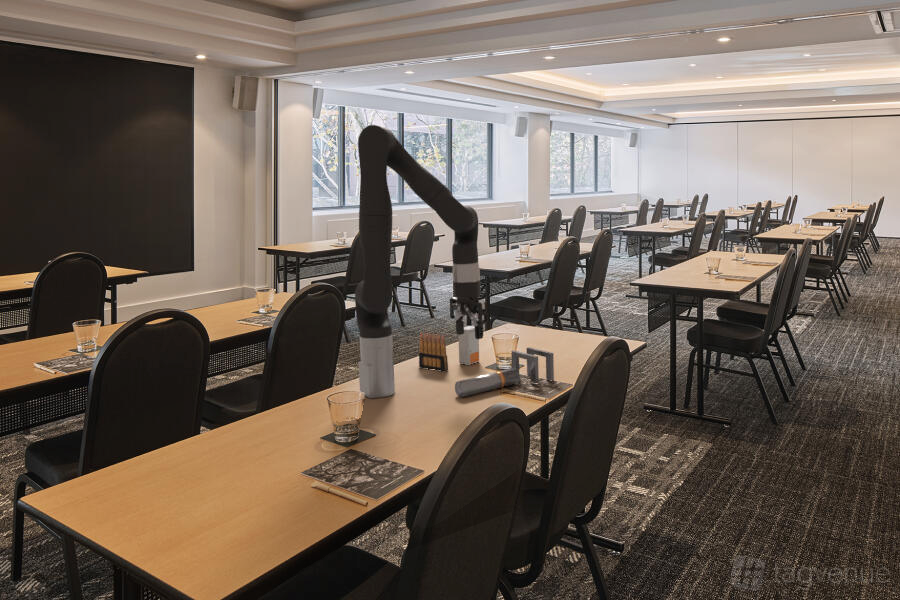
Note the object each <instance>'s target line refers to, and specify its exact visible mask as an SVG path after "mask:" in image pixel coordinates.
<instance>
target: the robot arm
mask: <svg viewBox="0 0 900 600" xmlns="http://www.w3.org/2000/svg"><path fill="white" fill-rule="evenodd" d="M357 139H358V140H357V150H358V159H359V161H358V162H359V175H360V182H359V184H360V185H359V206H358V207H359V209H358V211H359V212H358V233H359V234H358V235H359V241H360V246H361V247H360V248H361V250H362V251H361V252H362V256H363V263H364V264H363V265H364V267H363V268H364V273H363V280H362V281H360V282H359V283H358V284H357V286H356V289H355V291H354V300H355V301H354V303H355V312H356V313H355V316H356V325H357V327H358V332H359V347H360V348H359V350H360V351H359V352H360V361H359V362H358V366H357V367H358V381H359V392H360V391H361V392H364V393H365V396H364V397H367V398H368V399H374V398H386V397H390V396H392V395H394V394H396V390H395V389H396V384H395V365H394V349H393V348H394V347H393V331H392V330H393V329H392V323H391V322H390V319H389V312H388V311H389V310H388V309H389V307H390V306H391V305H392V301H393V298H394V297H393V284H392V283H393V282H392V273H391V272H392V271H391V270H392V269H391V257H392V240H393V239H392V235H393V205H392V200H391V199H392V197H391V193H390V189H389V186H388V179H387V175H388V174H387V171H388V168H390V169H391V170H393V171H394V172H395V173H396V174H397V175H399V177H400V178H402V179H401V180H403V181H404V182H405V183H406V185H407V186H408V187H409V188H410V189H411V190H412V192H414V194H416V195H417V197H418V198H419V199H420V200H421V201H423V203H425V204H426V205H427V206H429V208H431V209H432V210H434V212H435V214H437V215H438V217H439V219H441V221H443V222H444V224H445V225H446V227H449V228H450V229H451V230H452V231H454V242H453V244H452V248H451V250H452V251H451V252H452V253H451V254H452V287H453V296H454V297H451V298H449V318H450V319H452V320H453V321H454V322H455V331H456V335H457V336H458V335H461V334H464V327H465V321H464V319H465V317H466V316H467V317H469V319H470V320H472V322H473V324H474V327H475V338H476V339H479V340H480V339H481V340H482V339H483V338H484V325H486V324H488V323H489V315H488V306H487V304H488V303H487V302H486V301H479V297H480V296H481V294H482V290H481V289H482V288H481V287H482V286H481V273H480V272H481V270H480V266H479V251H478V239H479V238H478V237H479V218H478V217H479V216H478V213H477V211H476V210H475V209H474V208H473V207H471V206H469V205H463V204H462V203H461V202H459V200H457V198H455V197H454V196H453V192H452V191H451V190H450V189H449V188H448V187H447V186H446V185H445V184H443V182H442V181H440V180H439V178H437V177H436V176H435V175H434V174H432V172H430V171H429V170H428V169H426V168H425V167H424V166H422V164H420V162H418V161H417V160H416V159H415V158H414V157H413V156H412V155H411V153H409V152H408V151H407V150H406V148H405V147H404V146H403V144H401V142H400V141H399V140H398V138H397V137H396V136H395V135H394V133H393V132H392V131H391V130H390V129H388V128H386V127H385V126H381V125H377V124H370V125H367V126H365V127H364V128H363V129H362V131H361V132H360V133H359V136H358V138H357Z"/></svg>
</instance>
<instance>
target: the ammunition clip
mask: <svg viewBox="0 0 900 600" xmlns="http://www.w3.org/2000/svg"><path fill="white" fill-rule="evenodd" d="M448 363H449V362H448V355H447V346H446V339H445V335H444V334H443V333H442V335H441V336H440V334H439V333H437V336H436V334H435V333H432V334H431V332H429V333H428V334H427V332H426V331H425V332H424V334H423V331H420V334H419V352H418V368H419V367H421V368H420V369H423V368H428V369H427V370H429V369H435V370H441V371H440V372H442V371H446V370H448V371H449V364H448ZM435 370H434V371H435ZM446 372H447V371H446Z"/></svg>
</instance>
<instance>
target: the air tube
mask: <svg viewBox="0 0 900 600" xmlns="http://www.w3.org/2000/svg"><path fill="white" fill-rule="evenodd" d="M520 379H521V377H520V371H519V372H518V371H517V370H516V369H514V368H513V369H512V368H509V369H505V370H501V371H500V370H499V371H495V372H492V373H488V374H483V375H478V376H475V377H470V378H467V379H466V378H465V379H462V380H458V381H456V382H455V384H454V391H455V393H456V396H458V398H465V397H470V396H473V395H474V396H475V395H477V394H482V393H485V392H490V391H494V390H497V389H502V388H505V387H504V386H506V387H509V386H508V385H510V386H513V385H512V384H514V385H517V384H519V383H520ZM516 383H517V384H516Z"/></svg>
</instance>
